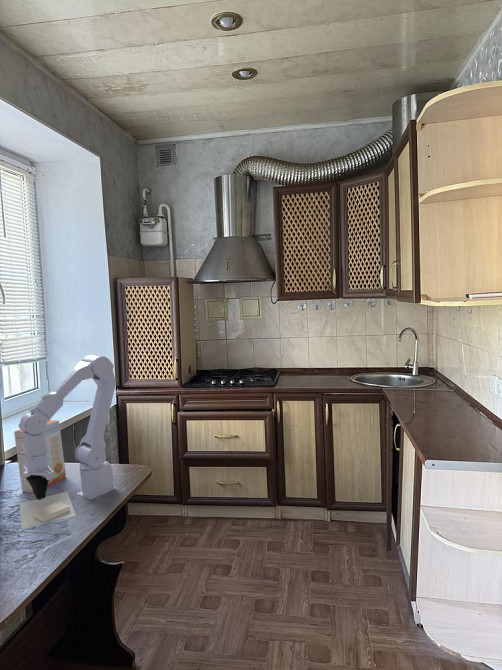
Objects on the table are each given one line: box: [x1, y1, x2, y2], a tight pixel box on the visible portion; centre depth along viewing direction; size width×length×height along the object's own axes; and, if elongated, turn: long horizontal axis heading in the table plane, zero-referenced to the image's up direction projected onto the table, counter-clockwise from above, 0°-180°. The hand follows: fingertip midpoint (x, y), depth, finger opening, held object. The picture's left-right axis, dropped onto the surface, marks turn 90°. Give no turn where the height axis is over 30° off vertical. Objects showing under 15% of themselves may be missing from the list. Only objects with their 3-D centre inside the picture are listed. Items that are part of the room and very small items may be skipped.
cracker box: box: [13, 419, 67, 494], centre depth 162 cm, size 14×6×21 cm, turn 154°
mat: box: [19, 491, 77, 530], centre depth 143 cm, size 20×14×1 cm
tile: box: [33, 502, 70, 522], centre depth 139 cm, size 8×2×6 cm
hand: (41, 498), depth 142 cm, fingers closed
